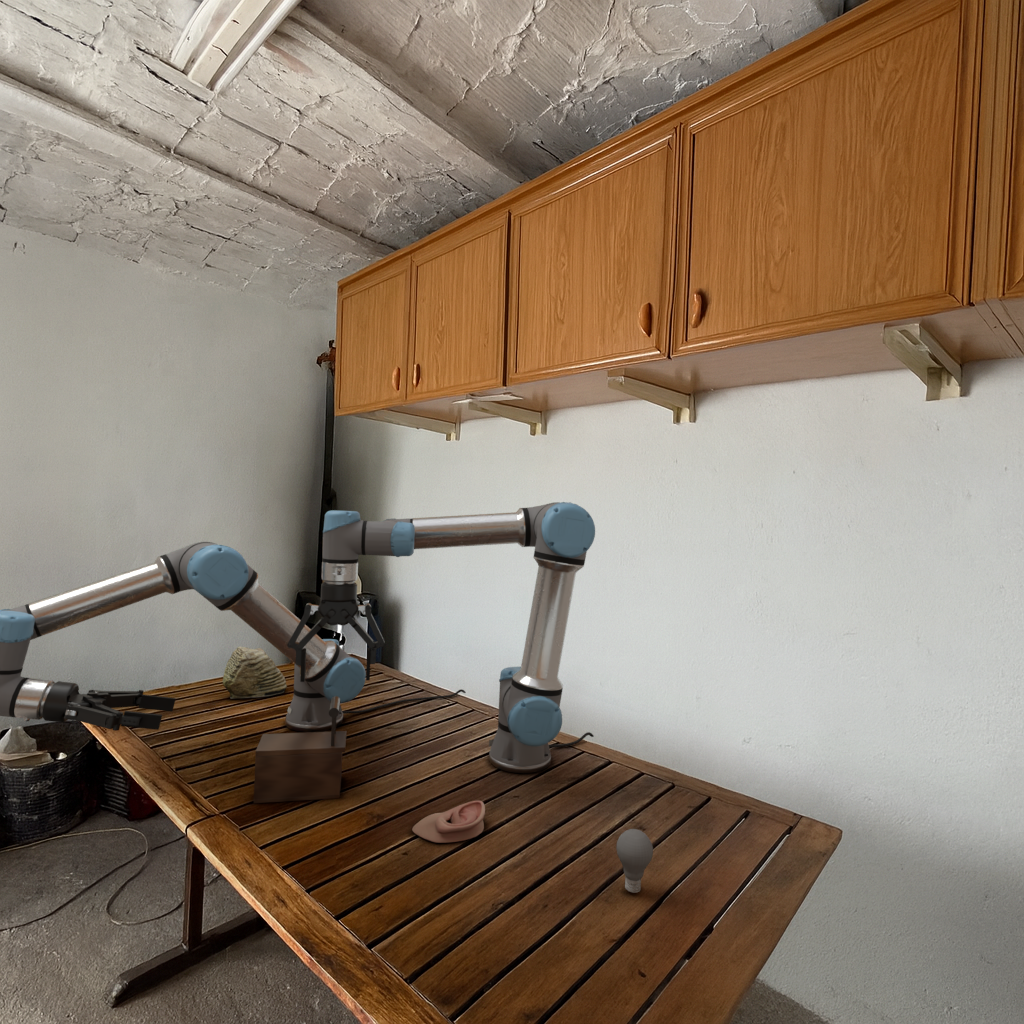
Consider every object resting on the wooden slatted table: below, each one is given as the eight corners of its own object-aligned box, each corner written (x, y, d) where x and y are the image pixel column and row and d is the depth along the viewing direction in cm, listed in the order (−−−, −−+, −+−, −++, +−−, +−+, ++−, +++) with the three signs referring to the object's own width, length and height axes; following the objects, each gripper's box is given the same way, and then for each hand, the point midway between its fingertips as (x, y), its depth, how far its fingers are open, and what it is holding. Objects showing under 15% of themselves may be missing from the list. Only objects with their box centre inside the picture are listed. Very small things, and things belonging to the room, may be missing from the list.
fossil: (218, 695, 195) (220, 647, 195) (278, 685, 208) (279, 640, 207) (228, 703, 189) (230, 653, 188) (289, 692, 201) (290, 645, 201)
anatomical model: (406, 817, 119) (427, 790, 130) (406, 838, 119) (426, 809, 130) (475, 827, 116) (490, 799, 127) (474, 849, 116) (489, 818, 127)
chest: (341, 778, 143) (343, 736, 143) (339, 798, 134) (341, 753, 133) (261, 782, 139) (262, 739, 139) (253, 803, 130) (255, 756, 130)
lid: (346, 735, 143) (347, 694, 143) (344, 752, 134) (346, 708, 133) (262, 739, 139) (264, 696, 139) (255, 756, 130) (257, 711, 129)
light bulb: (610, 879, 108) (613, 822, 108) (644, 879, 109) (647, 822, 109) (619, 902, 102) (622, 840, 102) (655, 901, 103) (658, 840, 103)
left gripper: (67, 703, 136) (174, 715, 142) (16, 738, 112) (148, 750, 118) (76, 668, 137) (182, 681, 143) (27, 696, 113) (158, 710, 119)
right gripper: (276, 583, 130) (272, 685, 131) (398, 585, 136) (394, 683, 136) (280, 578, 138) (277, 675, 138) (397, 580, 143) (393, 673, 144)
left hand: (167, 713), depth 131 cm, fingers open, 13 cm apart
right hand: (335, 679), depth 137 cm, fingers open, 13 cm apart
